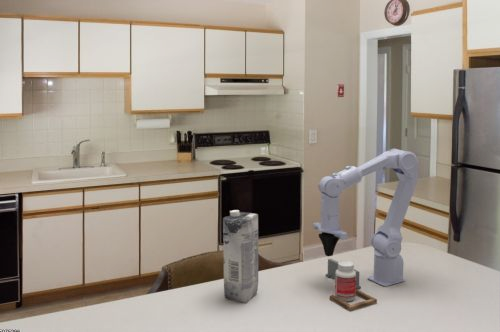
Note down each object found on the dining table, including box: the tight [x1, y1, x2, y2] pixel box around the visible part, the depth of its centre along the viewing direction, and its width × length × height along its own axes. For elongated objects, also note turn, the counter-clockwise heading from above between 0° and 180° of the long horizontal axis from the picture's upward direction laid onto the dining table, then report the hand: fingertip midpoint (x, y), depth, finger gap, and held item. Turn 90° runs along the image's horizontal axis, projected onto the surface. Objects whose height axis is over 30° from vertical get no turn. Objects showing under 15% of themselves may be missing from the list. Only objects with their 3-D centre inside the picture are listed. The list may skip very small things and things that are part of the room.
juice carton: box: [222, 209, 259, 304], centre depth 143 cm, size 9×10×27 cm
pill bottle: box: [334, 260, 356, 303], centre depth 142 cm, size 6×6×11 cm
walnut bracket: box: [329, 289, 378, 312], centre depth 141 cm, size 10×9×1 cm
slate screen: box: [325, 258, 362, 291], centre depth 155 cm, size 3×14×6 cm, turn 30°
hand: (329, 255), depth 151 cm, fingers closed
